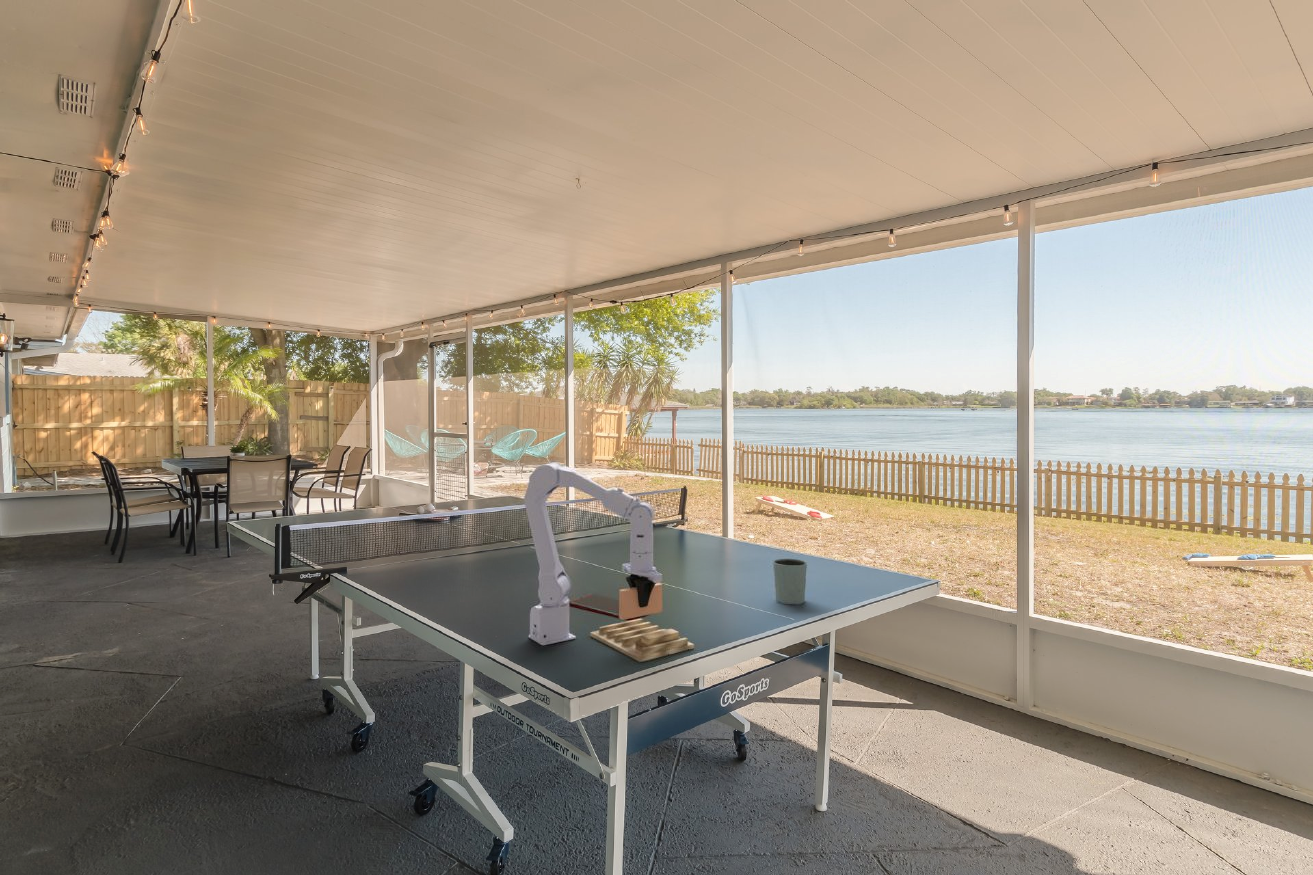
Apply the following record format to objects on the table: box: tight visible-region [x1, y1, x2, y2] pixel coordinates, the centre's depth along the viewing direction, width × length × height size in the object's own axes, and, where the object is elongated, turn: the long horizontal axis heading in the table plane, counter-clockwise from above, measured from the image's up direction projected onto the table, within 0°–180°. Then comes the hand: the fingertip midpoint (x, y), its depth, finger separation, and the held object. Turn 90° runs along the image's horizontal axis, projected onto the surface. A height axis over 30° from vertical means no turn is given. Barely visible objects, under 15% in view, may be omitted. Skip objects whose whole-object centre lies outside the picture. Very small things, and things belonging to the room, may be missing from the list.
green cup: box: [772, 558, 808, 605], centre depth 208 cm, size 10×10×12 cm
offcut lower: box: [635, 636, 682, 651], centre depth 164 cm, size 11×4×2 cm, turn 126°
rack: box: [589, 617, 695, 663], centre depth 170 cm, size 16×22×2 cm
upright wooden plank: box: [618, 582, 663, 621], centre depth 169 cm, size 12×2×7 cm, turn 126°
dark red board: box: [569, 593, 648, 621], centre depth 199 cm, size 12×2×25 cm
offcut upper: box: [641, 628, 680, 645], centre depth 164 cm, size 9×3×2 cm, turn 126°
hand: (641, 605), depth 169 cm, fingers closed on upright wooden plank, 1 cm apart
